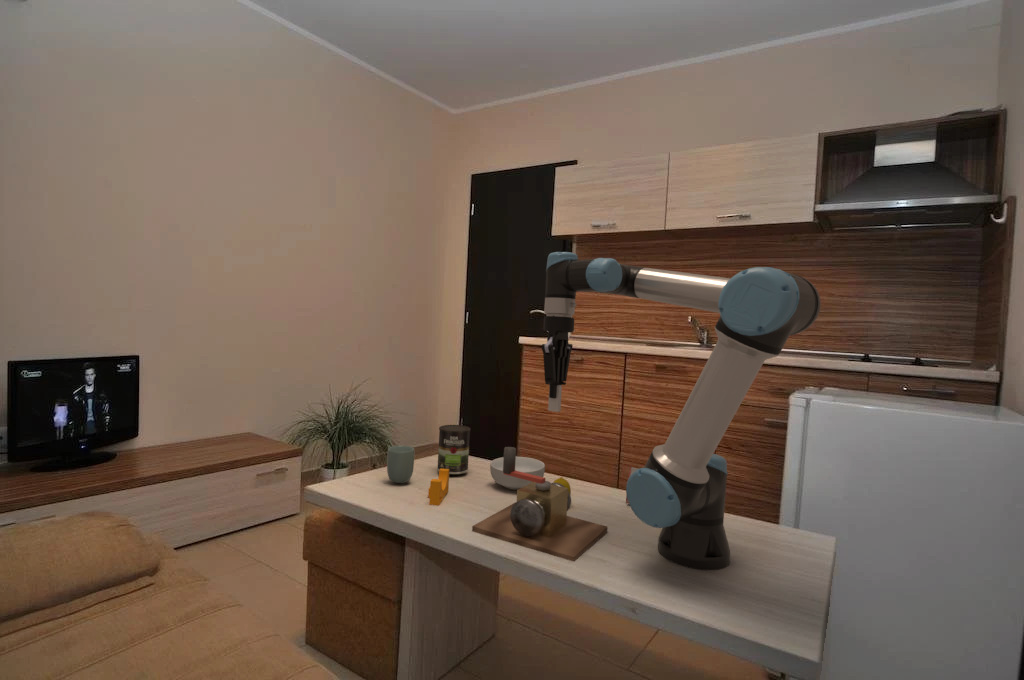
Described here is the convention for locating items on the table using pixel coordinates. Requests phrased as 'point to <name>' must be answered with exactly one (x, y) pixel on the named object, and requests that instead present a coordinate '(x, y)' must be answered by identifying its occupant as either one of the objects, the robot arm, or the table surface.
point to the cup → (400, 463)
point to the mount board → (561, 544)
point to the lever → (510, 470)
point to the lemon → (563, 483)
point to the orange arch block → (439, 487)
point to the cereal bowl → (521, 465)
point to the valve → (540, 510)
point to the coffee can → (453, 448)
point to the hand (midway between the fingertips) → (554, 410)
